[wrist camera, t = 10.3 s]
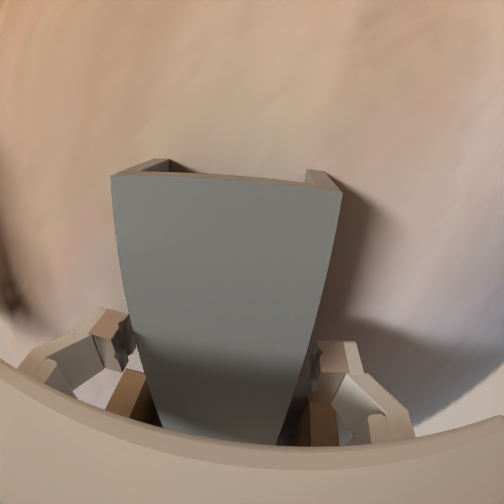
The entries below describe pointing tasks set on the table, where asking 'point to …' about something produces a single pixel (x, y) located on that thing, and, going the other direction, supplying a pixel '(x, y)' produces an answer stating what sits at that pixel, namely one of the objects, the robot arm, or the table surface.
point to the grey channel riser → (223, 291)
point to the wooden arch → (143, 409)
